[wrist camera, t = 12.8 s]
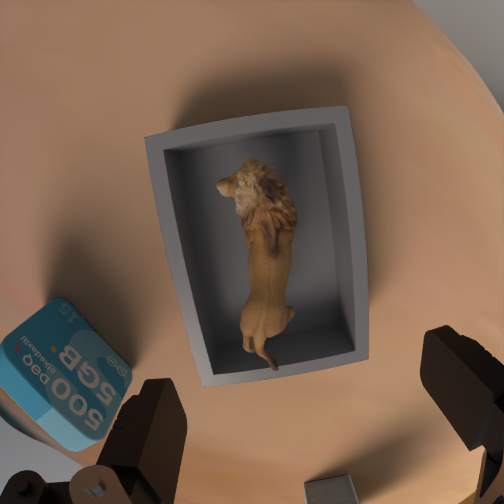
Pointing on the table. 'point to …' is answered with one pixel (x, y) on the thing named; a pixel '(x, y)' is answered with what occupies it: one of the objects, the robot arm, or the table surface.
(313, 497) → the hard drive box
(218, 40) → the table surface
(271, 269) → the lion figurine
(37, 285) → the table surface
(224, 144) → the bin
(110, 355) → the data package
